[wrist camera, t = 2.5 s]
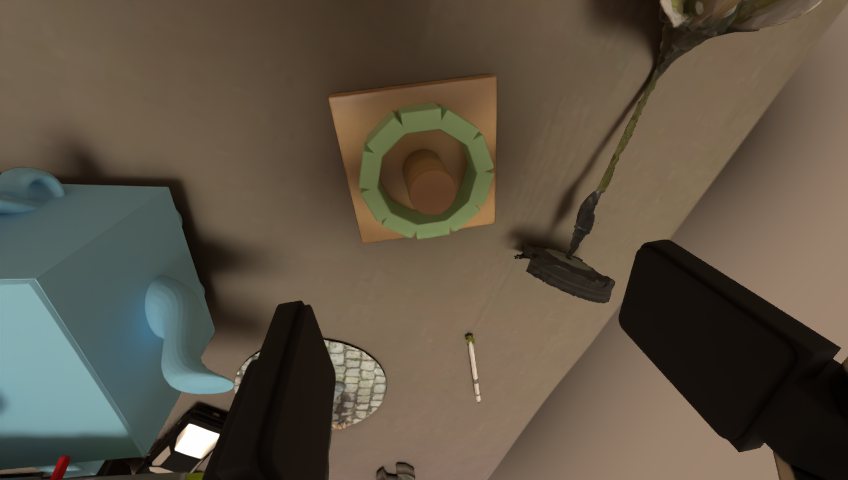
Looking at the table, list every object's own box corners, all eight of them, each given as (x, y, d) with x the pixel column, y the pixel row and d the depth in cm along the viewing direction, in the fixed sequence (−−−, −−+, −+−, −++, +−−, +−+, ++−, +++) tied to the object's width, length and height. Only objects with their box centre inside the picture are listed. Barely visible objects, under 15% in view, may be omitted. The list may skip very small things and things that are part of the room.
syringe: (480, 409, 33) (472, 404, 33) (485, 402, 33) (477, 397, 34) (470, 341, 28) (461, 336, 28) (476, 333, 28) (467, 329, 29)
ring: (346, 113, 17) (344, 120, 15) (483, 95, 18) (495, 100, 16) (371, 231, 21) (372, 247, 19) (483, 213, 21) (493, 227, 20)
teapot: (-135, 122, 15) (-979, 247, 6) (269, 142, 18) (156, 248, 9) (35, 352, 23) (-201, 567, 14) (299, 340, 26) (257, 511, 17)
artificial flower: (477, 239, 25) (493, 305, 16) (637, -121, 18) (843, -398, 8) (582, 278, 26) (658, 365, 16) (782, -60, 18) (1136, -261, 9)
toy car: (173, 487, 31) (160, 518, 29) (128, 475, 29) (110, 506, 27) (240, 413, 31) (232, 438, 28) (198, 396, 29) (186, 421, 26)
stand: (329, 94, 18) (316, 109, 13) (490, 74, 18) (526, 82, 14) (362, 235, 22) (360, 279, 18) (489, 215, 23) (516, 254, 19)
